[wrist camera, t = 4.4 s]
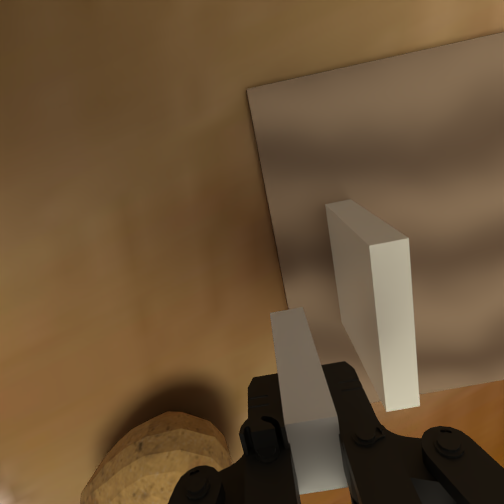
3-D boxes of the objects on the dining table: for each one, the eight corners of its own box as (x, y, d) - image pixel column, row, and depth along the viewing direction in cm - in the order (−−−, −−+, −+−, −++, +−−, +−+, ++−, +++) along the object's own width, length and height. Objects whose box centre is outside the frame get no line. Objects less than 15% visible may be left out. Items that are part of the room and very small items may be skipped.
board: (246, 91, 20) (246, 88, 19) (536, 27, 20) (554, 20, 18) (306, 401, 27) (308, 413, 26) (521, 364, 27) (533, 374, 25)
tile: (325, 204, 21) (369, 245, 14) (353, 198, 21) (413, 237, 14) (341, 321, 24) (386, 411, 16) (366, 317, 24) (423, 405, 16)
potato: (270, 405, 27) (279, 510, 20) (189, 521, 31) (171, 647, 24) (151, 353, 26) (112, 446, 18) (82, 483, 30) (25, 604, 22)
